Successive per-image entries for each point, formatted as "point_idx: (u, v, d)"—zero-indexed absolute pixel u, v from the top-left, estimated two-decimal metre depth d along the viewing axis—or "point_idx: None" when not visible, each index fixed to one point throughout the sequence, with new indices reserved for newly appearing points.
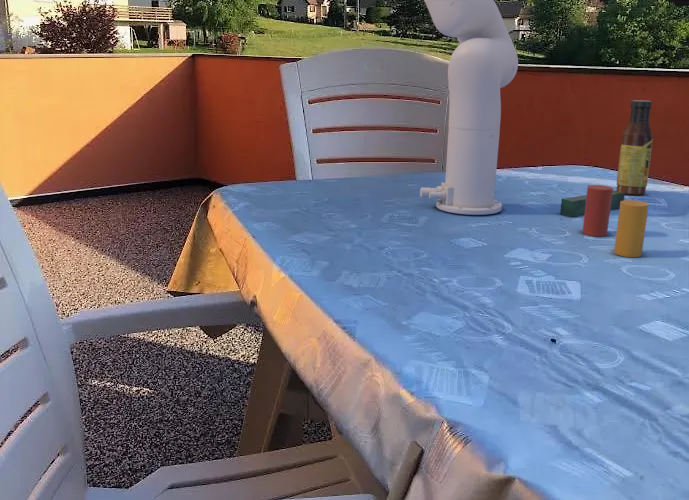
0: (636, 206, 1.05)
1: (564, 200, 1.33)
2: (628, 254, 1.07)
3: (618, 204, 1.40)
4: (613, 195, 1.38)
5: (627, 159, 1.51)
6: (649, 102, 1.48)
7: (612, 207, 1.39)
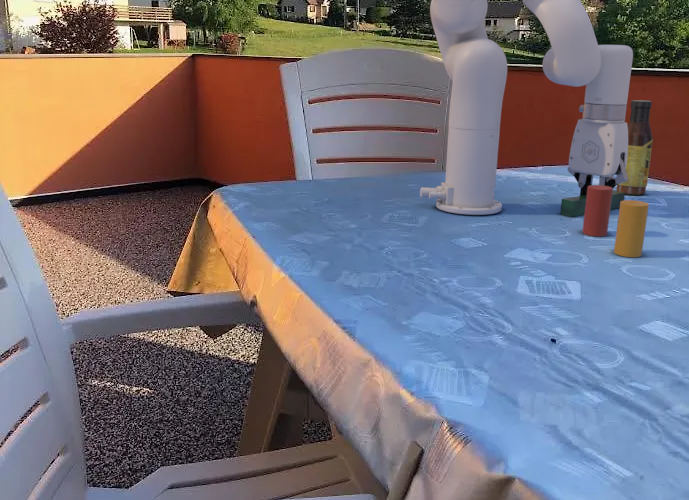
0: (636, 206, 1.05)
1: (564, 200, 1.33)
2: (628, 254, 1.07)
3: (618, 204, 1.40)
4: (613, 195, 1.38)
5: (627, 159, 1.51)
6: (649, 102, 1.48)
7: (612, 207, 1.39)
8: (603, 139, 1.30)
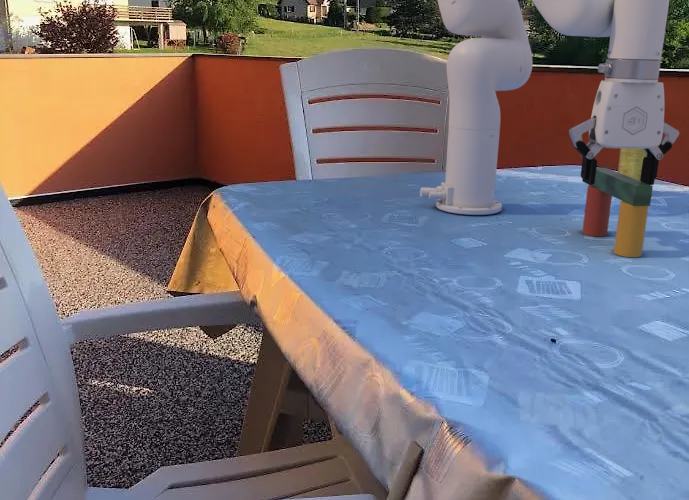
0: (636, 206, 1.05)
1: (640, 187, 1.04)
2: (628, 254, 1.07)
3: None
4: None
5: (627, 159, 1.51)
6: None
7: None
8: (652, 103, 1.06)
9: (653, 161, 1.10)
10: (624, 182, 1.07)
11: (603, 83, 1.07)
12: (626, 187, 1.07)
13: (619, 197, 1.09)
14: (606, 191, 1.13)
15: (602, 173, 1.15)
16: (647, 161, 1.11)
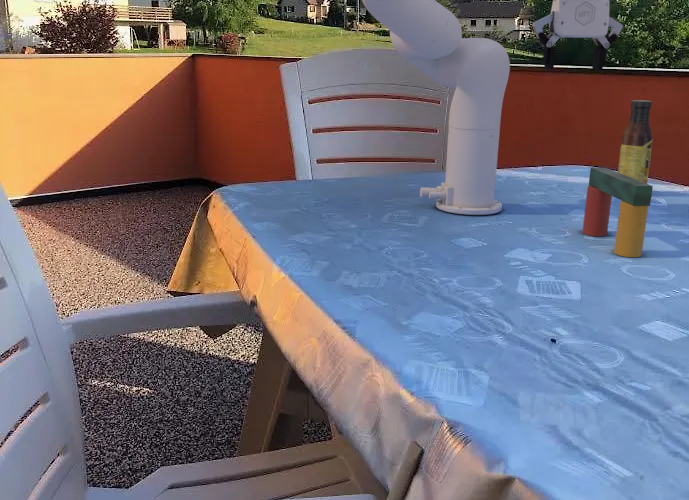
0: (636, 206, 1.05)
1: (640, 187, 1.04)
2: (628, 254, 1.07)
3: None
4: None
5: (627, 159, 1.51)
6: (649, 102, 1.48)
7: None
8: None
9: (601, 49, 1.34)
10: (624, 182, 1.07)
11: None
12: (626, 187, 1.07)
13: (619, 197, 1.09)
14: (606, 191, 1.13)
15: (602, 173, 1.15)
16: (597, 50, 1.36)
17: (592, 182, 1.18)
